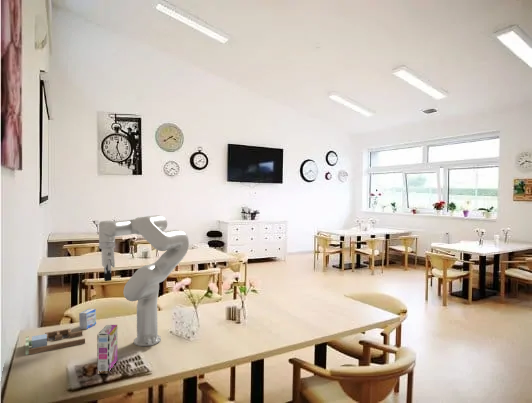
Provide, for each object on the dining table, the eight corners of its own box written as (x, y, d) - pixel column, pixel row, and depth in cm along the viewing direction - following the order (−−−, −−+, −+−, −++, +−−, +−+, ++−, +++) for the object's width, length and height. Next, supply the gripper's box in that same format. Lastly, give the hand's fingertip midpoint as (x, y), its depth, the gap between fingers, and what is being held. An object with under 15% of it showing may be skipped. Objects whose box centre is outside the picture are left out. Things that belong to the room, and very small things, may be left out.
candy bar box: (109, 374, 151) (109, 334, 151) (97, 375, 151) (96, 334, 150) (118, 361, 162) (117, 324, 162) (106, 362, 162) (105, 324, 161)
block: (47, 348, 176) (47, 338, 176) (32, 351, 173) (31, 340, 173) (47, 344, 181) (46, 333, 181) (32, 346, 178) (32, 336, 178)
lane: (85, 343, 182) (84, 335, 182) (25, 355, 169) (25, 346, 169) (80, 331, 197) (80, 323, 197) (26, 341, 184) (25, 333, 184)
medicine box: (86, 329, 199) (86, 313, 199) (79, 329, 200) (78, 312, 200) (96, 324, 207) (96, 308, 207) (89, 323, 208) (88, 308, 208)
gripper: (117, 246, 189) (118, 282, 190) (112, 242, 202) (112, 276, 202) (101, 247, 185) (102, 284, 186) (97, 243, 198) (97, 278, 198)
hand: (107, 280), depth 194 cm, fingers closed
